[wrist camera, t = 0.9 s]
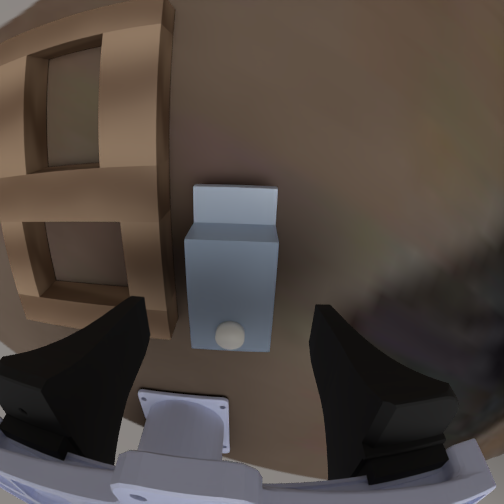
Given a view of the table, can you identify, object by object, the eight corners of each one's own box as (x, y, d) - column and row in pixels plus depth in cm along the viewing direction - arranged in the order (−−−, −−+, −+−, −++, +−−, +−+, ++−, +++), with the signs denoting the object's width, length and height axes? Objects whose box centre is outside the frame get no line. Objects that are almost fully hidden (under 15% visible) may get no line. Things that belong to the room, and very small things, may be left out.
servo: (273, 177, 18) (283, 204, 12) (264, 318, 21) (267, 382, 16) (203, 175, 18) (180, 201, 12) (206, 316, 21) (193, 378, 16)
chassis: (178, 317, 21) (170, 340, 19) (42, 302, 21) (26, 319, 19) (175, 10, 13) (164, -5, 11) (18, 48, 13) (-4, 45, 11)
